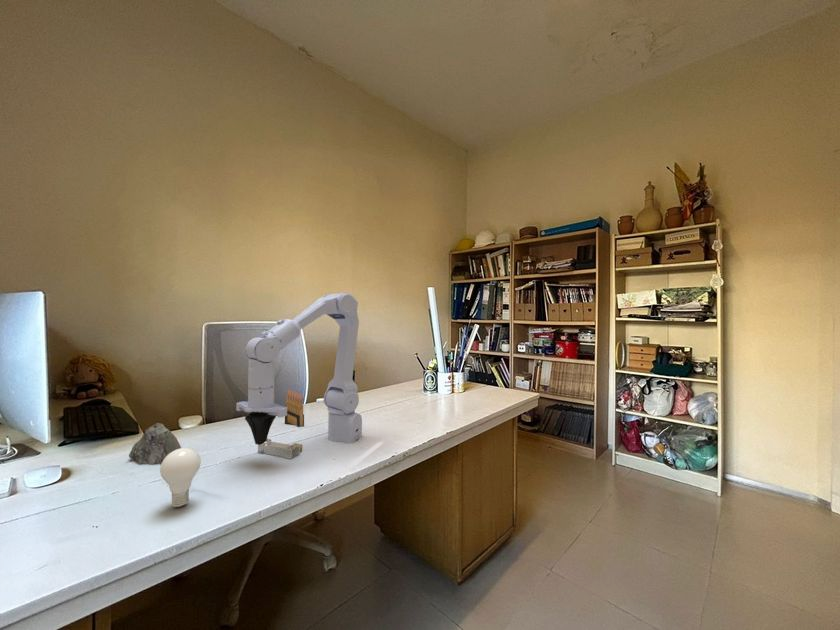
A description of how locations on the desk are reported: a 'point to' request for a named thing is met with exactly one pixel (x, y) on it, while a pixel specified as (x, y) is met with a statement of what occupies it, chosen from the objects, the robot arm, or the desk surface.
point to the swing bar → (279, 449)
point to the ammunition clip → (294, 409)
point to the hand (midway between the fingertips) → (260, 443)
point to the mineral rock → (154, 445)
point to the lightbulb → (180, 473)
